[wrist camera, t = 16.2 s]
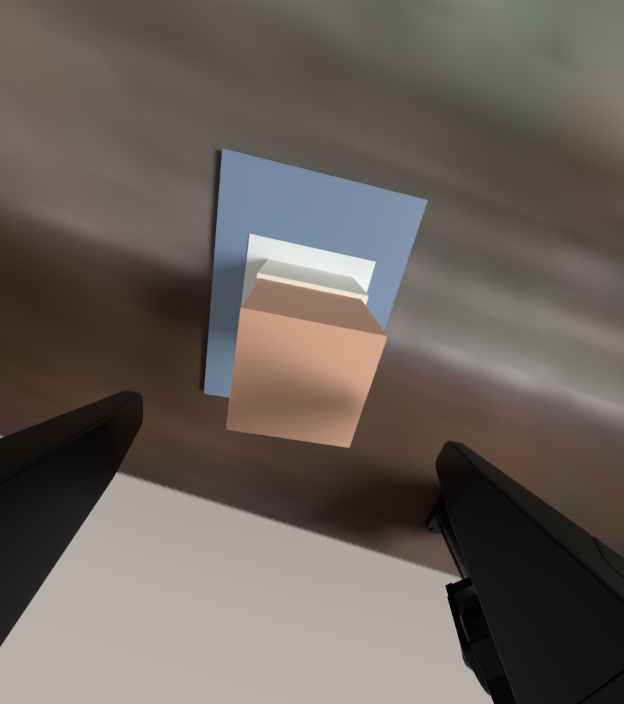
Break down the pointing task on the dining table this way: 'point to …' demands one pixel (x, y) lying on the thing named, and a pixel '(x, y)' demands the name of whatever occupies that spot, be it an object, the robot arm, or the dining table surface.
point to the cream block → (311, 279)
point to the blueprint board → (300, 241)
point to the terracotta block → (302, 364)
